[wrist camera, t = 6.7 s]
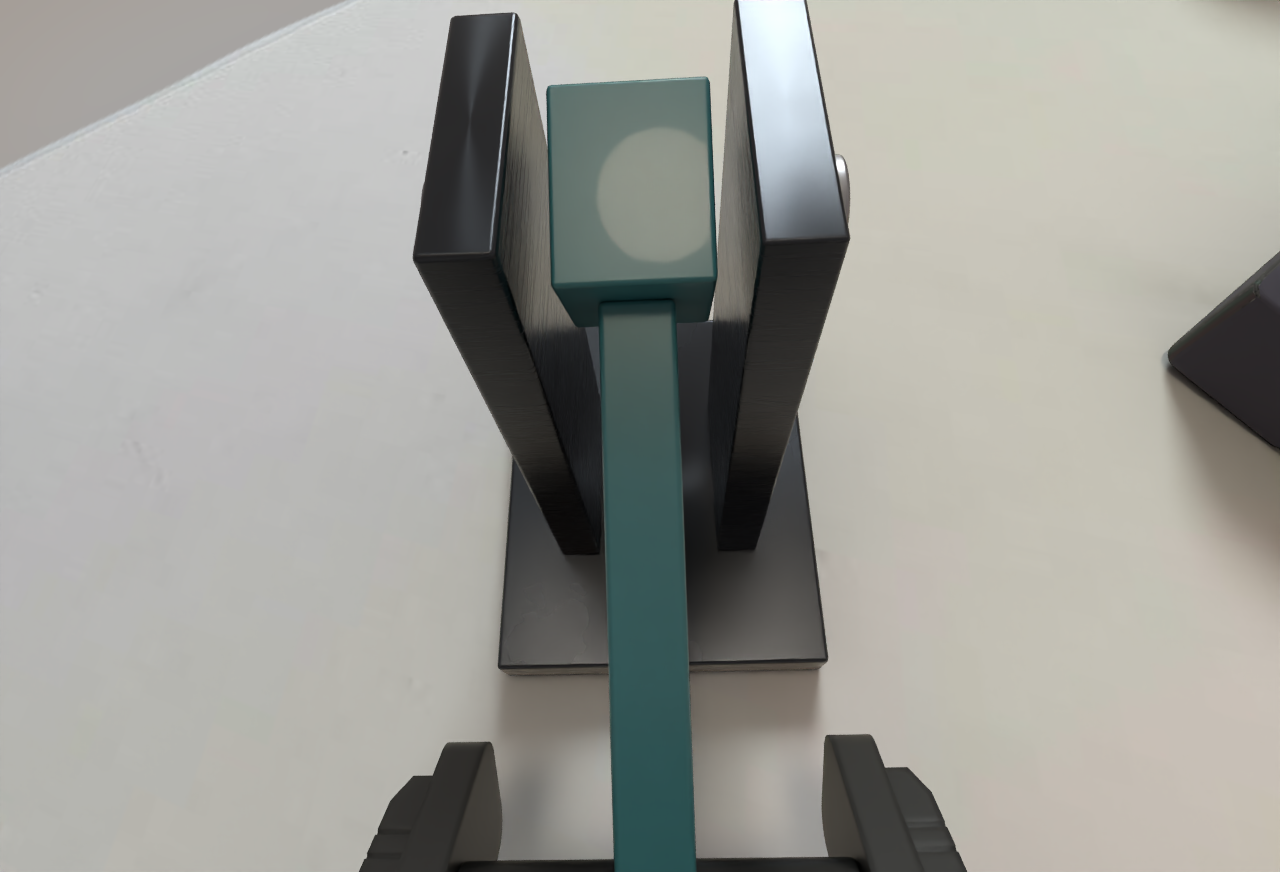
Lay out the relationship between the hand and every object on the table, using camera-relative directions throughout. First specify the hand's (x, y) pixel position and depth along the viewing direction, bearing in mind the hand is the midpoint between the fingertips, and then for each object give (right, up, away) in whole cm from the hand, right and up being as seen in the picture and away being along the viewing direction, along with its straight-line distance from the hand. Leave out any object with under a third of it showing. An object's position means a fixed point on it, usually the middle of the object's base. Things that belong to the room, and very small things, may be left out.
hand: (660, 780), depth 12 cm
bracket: (0, +4, +8) cm, 9 cm away
